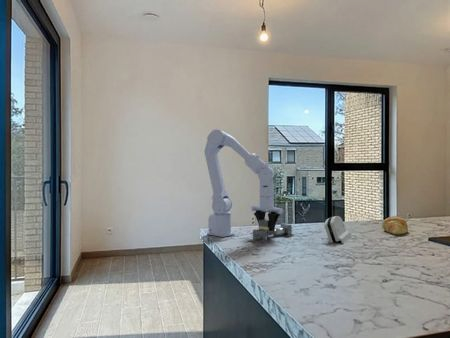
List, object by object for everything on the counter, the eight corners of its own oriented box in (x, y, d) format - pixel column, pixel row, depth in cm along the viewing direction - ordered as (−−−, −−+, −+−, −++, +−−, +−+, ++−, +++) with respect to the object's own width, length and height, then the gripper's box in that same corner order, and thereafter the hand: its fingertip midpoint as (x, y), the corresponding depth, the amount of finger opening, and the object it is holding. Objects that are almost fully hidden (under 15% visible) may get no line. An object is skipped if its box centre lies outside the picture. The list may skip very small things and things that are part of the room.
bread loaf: (404, 245, 146) (415, 228, 144) (380, 232, 148) (390, 215, 147) (399, 234, 165) (408, 219, 164) (378, 223, 168) (386, 208, 167)
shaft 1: (256, 238, 145) (256, 227, 145) (272, 239, 142) (272, 228, 142) (250, 241, 138) (250, 230, 138) (266, 243, 135) (266, 231, 135)
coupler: (265, 232, 150) (265, 218, 150) (274, 234, 147) (274, 219, 147) (258, 234, 146) (258, 219, 146) (267, 236, 143) (267, 220, 143)
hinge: (343, 244, 133) (333, 218, 134) (331, 247, 135) (321, 221, 137) (351, 235, 147) (342, 212, 149) (340, 238, 150) (331, 215, 151)
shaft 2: (278, 237, 146) (278, 226, 146) (269, 234, 151) (269, 224, 151) (293, 235, 149) (293, 225, 149) (284, 233, 155) (284, 222, 155)
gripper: (246, 196, 149) (246, 229, 149) (275, 198, 139) (275, 233, 139) (257, 195, 154) (257, 226, 154) (285, 196, 144) (286, 230, 144)
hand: (266, 229), depth 147 cm, fingers closed on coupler, 5 cm apart
